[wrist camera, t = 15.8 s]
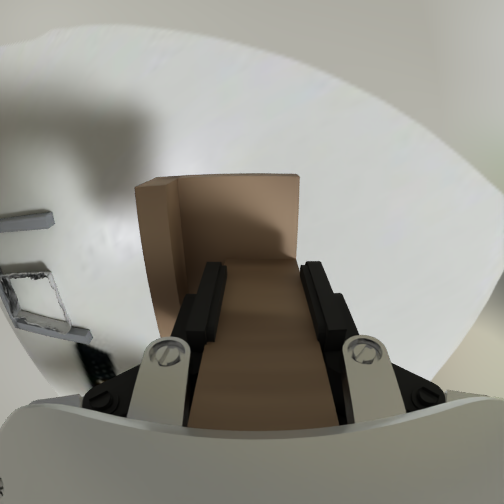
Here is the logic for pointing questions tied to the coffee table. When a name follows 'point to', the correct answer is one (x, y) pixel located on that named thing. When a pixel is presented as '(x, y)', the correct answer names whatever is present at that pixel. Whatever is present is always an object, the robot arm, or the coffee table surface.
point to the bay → (3, 226)
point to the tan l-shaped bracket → (239, 297)
